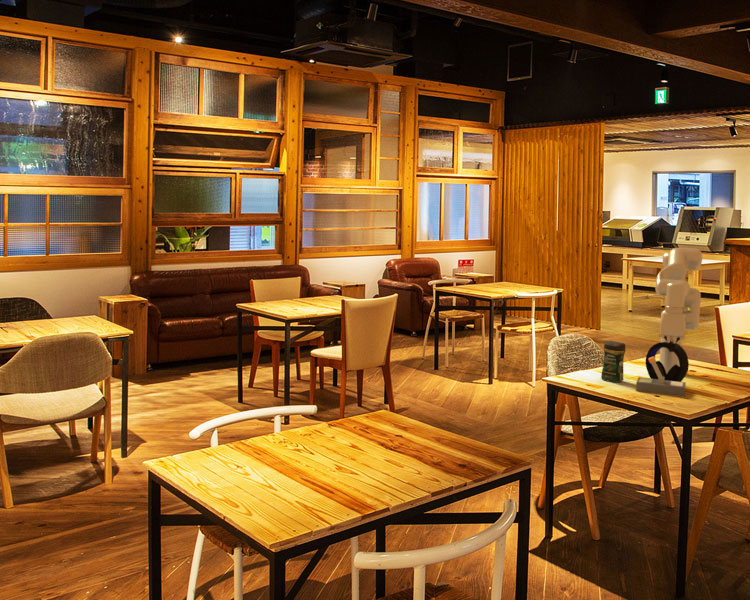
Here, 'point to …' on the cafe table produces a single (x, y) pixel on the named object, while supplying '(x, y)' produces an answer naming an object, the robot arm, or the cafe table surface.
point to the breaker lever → (655, 366)
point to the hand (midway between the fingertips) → (670, 351)
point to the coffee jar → (613, 361)
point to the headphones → (676, 371)
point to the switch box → (660, 386)
